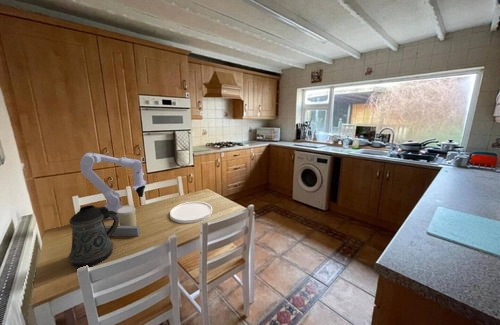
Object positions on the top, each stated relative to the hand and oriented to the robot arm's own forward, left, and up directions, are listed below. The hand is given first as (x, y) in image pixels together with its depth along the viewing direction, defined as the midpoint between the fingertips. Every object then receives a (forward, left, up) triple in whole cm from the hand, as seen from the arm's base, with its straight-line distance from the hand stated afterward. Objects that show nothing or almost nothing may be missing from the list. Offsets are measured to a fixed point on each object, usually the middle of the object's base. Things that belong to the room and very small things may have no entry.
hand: (140, 196), depth 139 cm
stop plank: (+3, -29, -10) cm, 31 cm away
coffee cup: (+3, -22, -11) cm, 25 cm away
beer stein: (+1, -45, -11) cm, 46 cm away
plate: (+35, -2, -11) cm, 37 cm away
